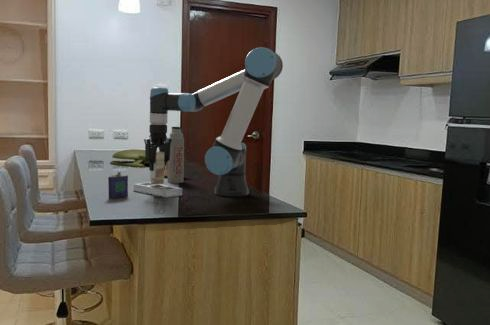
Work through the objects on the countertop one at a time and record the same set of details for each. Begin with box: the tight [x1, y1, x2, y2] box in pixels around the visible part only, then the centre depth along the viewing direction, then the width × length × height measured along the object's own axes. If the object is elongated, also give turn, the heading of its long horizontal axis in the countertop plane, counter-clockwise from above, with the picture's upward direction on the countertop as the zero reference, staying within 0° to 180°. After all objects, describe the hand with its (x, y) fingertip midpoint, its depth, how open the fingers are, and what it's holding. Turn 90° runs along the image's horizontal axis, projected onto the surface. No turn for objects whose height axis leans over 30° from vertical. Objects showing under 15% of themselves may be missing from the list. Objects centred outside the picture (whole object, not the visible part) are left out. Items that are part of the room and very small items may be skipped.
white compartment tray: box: [133, 181, 183, 198], centre depth 203 cm, size 22×9×3 cm, turn 50°
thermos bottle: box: [167, 126, 185, 184], centre depth 235 cm, size 8×8×28 cm
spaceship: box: [109, 148, 149, 169], centre depth 310 cm, size 35×31×10 cm
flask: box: [107, 171, 129, 200], centre depth 188 cm, size 9×3×11 cm, turn 144°
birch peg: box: [150, 150, 165, 185], centre depth 202 cm, size 4×4×14 cm
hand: (157, 177), depth 202 cm, fingers closed on birch peg, 4 cm apart
